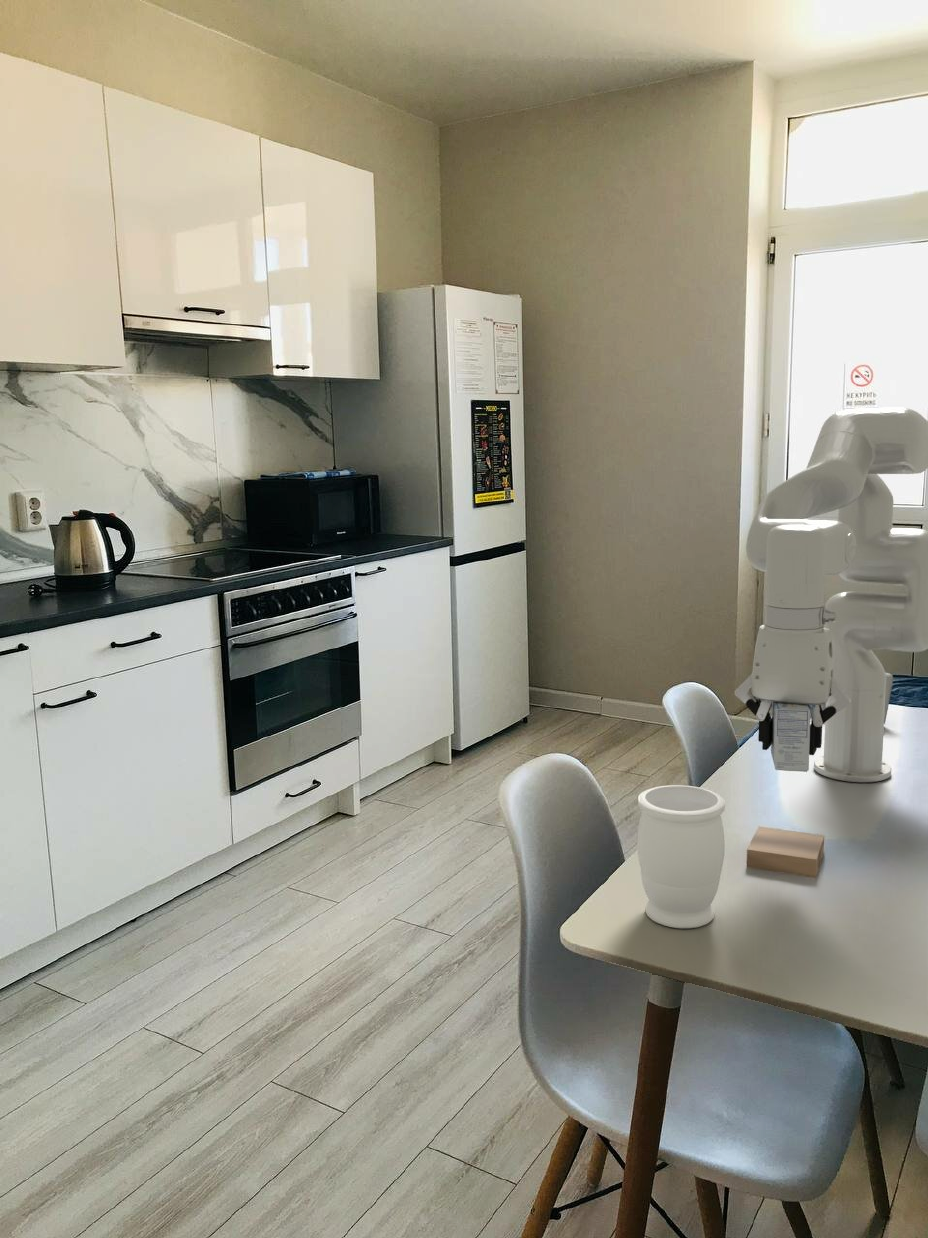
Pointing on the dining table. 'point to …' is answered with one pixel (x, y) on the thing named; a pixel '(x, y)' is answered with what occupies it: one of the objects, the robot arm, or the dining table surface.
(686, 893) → the jar
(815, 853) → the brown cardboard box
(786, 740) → the medicine box
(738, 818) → the dining table surface
